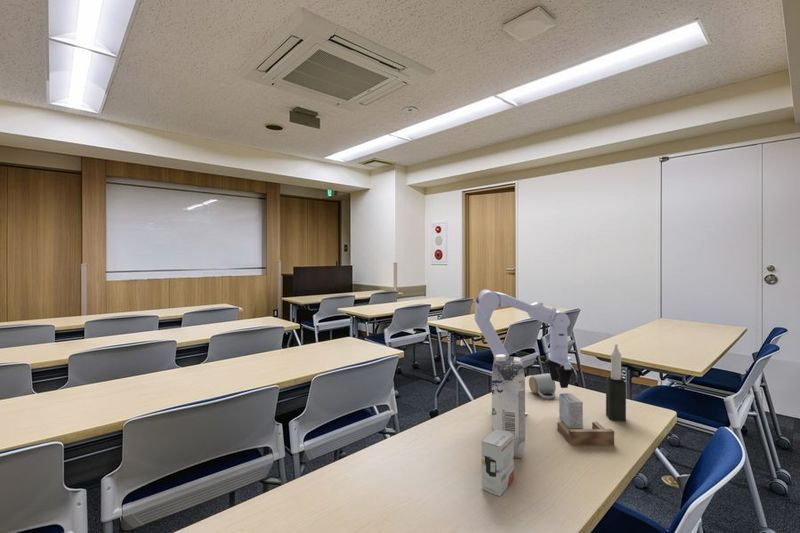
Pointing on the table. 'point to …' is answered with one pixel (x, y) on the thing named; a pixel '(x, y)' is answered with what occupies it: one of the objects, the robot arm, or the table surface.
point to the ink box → (497, 461)
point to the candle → (616, 390)
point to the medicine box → (571, 410)
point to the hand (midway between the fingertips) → (559, 383)
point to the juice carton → (509, 399)
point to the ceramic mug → (542, 385)
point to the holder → (587, 435)
